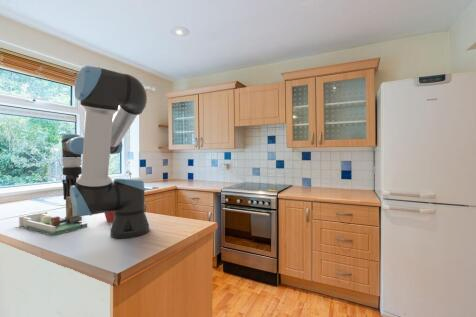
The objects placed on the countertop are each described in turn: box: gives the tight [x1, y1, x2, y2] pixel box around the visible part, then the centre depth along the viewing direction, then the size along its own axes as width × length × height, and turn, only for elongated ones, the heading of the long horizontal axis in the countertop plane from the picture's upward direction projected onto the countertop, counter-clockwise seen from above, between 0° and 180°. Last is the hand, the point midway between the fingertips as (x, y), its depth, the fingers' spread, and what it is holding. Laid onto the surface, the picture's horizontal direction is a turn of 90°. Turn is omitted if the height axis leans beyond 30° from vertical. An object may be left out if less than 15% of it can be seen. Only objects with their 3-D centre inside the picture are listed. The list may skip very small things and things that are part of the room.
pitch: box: [18, 211, 82, 236], centre depth 110 cm, size 30×11×4 cm, turn 63°
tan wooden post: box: [51, 196, 83, 226], centre depth 111 cm, size 6×11×12 cm, turn 153°
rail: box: [60, 217, 88, 229], centre depth 115 cm, size 24×2×2 cm, turn 63°
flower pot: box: [104, 211, 115, 223], centre depth 121 cm, size 11×11×10 cm
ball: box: [41, 214, 52, 224], centre depth 110 cm, size 4×4×4 cm
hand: (73, 215), depth 114 cm, fingers closed on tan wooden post, 4 cm apart
